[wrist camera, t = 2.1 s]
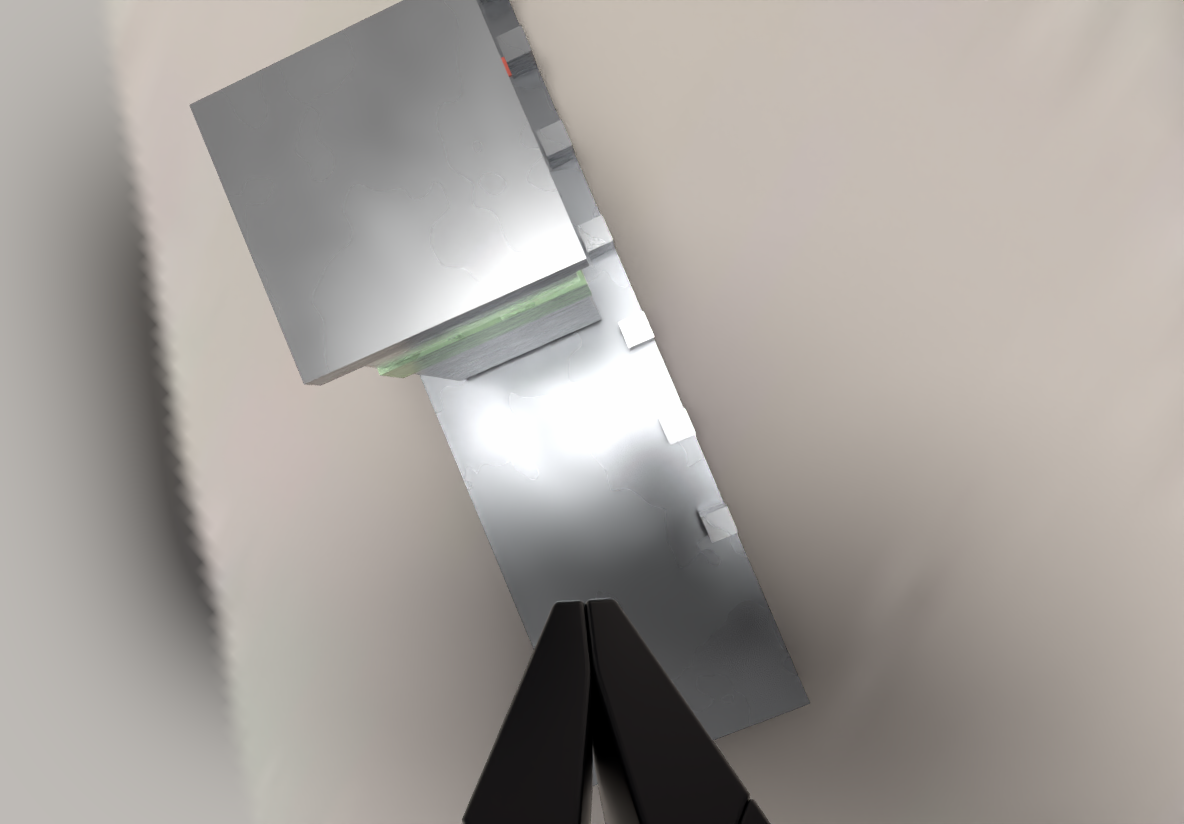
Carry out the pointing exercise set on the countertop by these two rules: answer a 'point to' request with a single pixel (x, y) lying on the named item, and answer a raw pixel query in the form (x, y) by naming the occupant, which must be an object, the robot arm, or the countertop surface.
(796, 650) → the countertop surface
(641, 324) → the track
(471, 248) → the column
